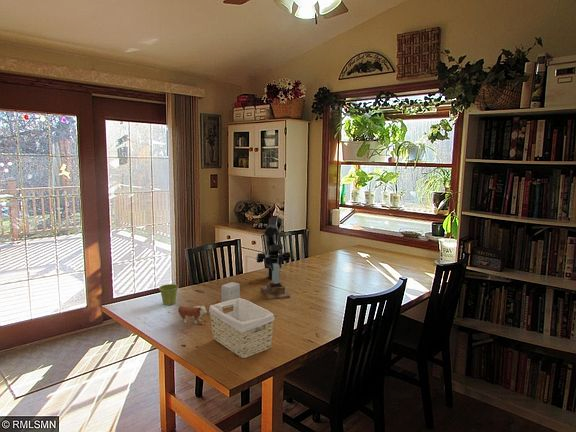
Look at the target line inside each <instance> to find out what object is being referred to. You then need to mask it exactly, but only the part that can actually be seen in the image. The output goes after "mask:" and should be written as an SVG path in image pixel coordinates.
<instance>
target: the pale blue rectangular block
mask: <svg viewBox="0 0 576 432" xmlns="http://www.w3.org/2000/svg"><path fill="white" fill-rule="evenodd" d="M272 265H273V271H272V279H271V282H273V283H274V284H275V283H279V282H280V277H279V270H280V269H281V268H280V265H279V264H278V263H272Z"/></svg>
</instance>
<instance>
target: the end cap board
mask: <svg viewBox="0 0 576 432" xmlns="http://www.w3.org/2000/svg"><path fill="white" fill-rule="evenodd" d="M261 289H262V291H263V293H264V295H265V296H266V298H267V300H274V299H275V300H276V299H288V298H289V299H290V298H291V294H289V292H288V291H287V289H286V287H285V285H283V283H282V282H281V281H279V283H275V284H274V283H273V281H271V282H266V286H261Z"/></svg>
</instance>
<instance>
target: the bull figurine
mask: <svg viewBox="0 0 576 432" xmlns="http://www.w3.org/2000/svg"><path fill="white" fill-rule="evenodd" d="M206 307H207V306H206V305H197V306H179V307H178V314H179V318H180V320H181V321H183V322H184V324H188V321H187V320H186V316H187V317H188V319H190V318H191V317H193V318H194V322H193V323H194V324H198V322H199V323H200V322H202V320H201V318H202V316H203V315H205V314H207V310H206ZM197 320H198V322H197Z"/></svg>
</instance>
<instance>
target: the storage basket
mask: <svg viewBox="0 0 576 432" xmlns="http://www.w3.org/2000/svg"><path fill="white" fill-rule="evenodd" d="M231 306H233V307H231ZM229 307H230V308H232V309H233V310H231V311H229V312H225V313H224V311H223V310H224V309H228V308H229ZM230 308H229V309H230ZM208 310H209V311H208V313H209V315H210V317H209V318H210V323H211V324H210V326H211V333H212V338H213V340H215V341H216V342H218V343H219V344H220V345H222V346H223V347H225V348H226V349H228V350H229V351H230V352H232V353H233V354H235V355H237V356H238V357H240V358H242V359H246V358H249V357H251V356H254V355H256V354H259V353H262V352H264V351H268V350H269V349H270V348H272V338H273V333H274V332H273V329H274V327H273V326H274V321H275V316H274V314H273V313H272V312H271V311H269V310H268V309H266V308H263V307H261V306H260V305H258V304H255V303H254V302H251V301H250V300H247V299H244V298H241V297H240V298H238V299H233V300H229V301H225V302H222V301H220V302H218V303H216V304H210V306H209V309H208Z"/></svg>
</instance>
